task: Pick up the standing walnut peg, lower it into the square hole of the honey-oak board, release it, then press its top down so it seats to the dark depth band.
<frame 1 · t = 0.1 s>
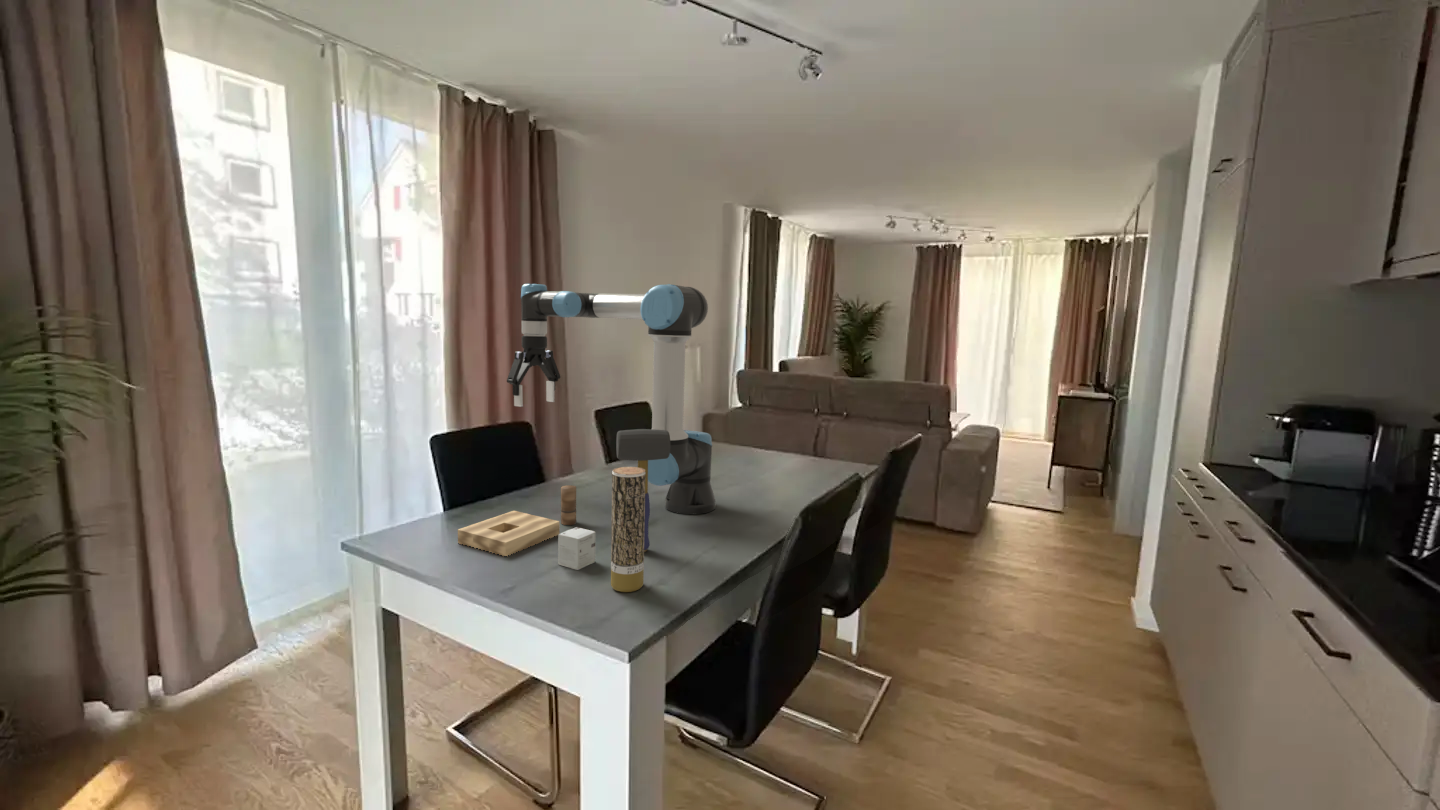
hand: (534, 403, 194), 28 cm above the table, tool pointing down, fingers open, 13 cm apart
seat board: (510, 538, 156), on the table
skincare box: (576, 564, 142), on the table
peg: (568, 523, 169), on the table
rubber mallet: (641, 551, 151), on the table
paper tube: (627, 587, 131), on the table
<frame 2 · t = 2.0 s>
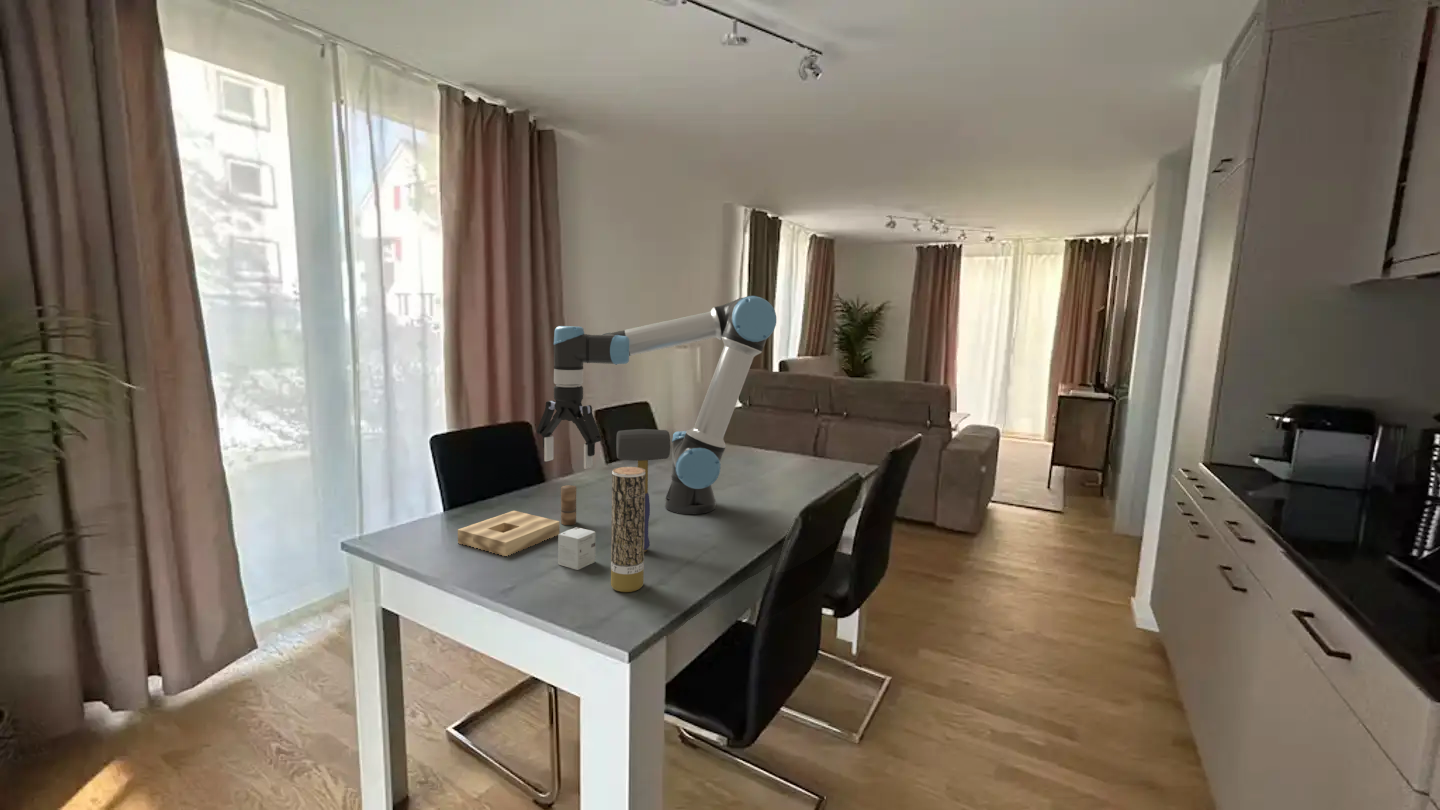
hand: (568, 464, 167), 16 cm above the table, tool pointing down, fingers open, 13 cm apart
nothing on the table moved.
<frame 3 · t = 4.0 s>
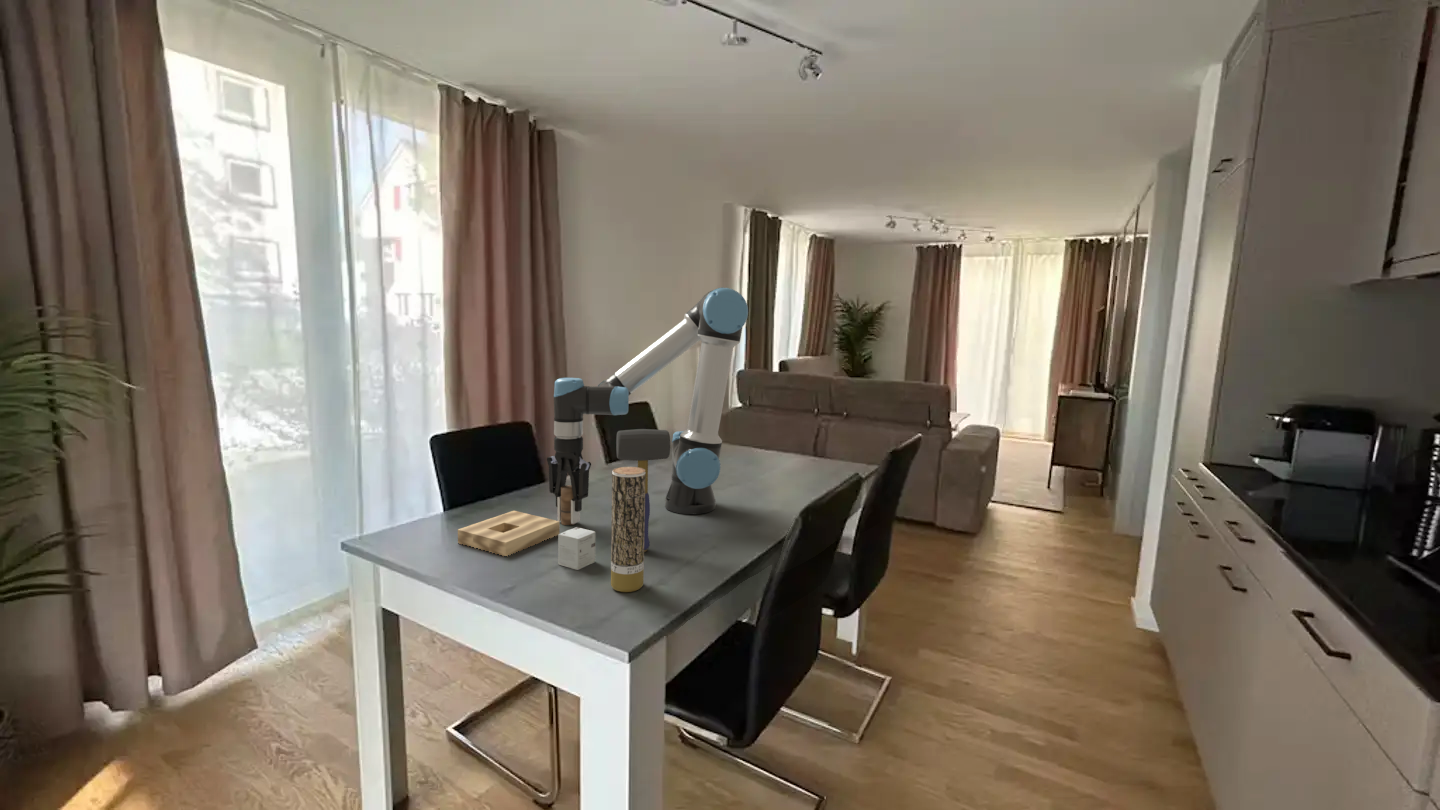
hand: (568, 520, 169), 1 cm above the table, tool pointing down, fingers closed on peg, 4 cm apart
peg: (568, 523, 169), on the table, touching gripper
everything else where it was.
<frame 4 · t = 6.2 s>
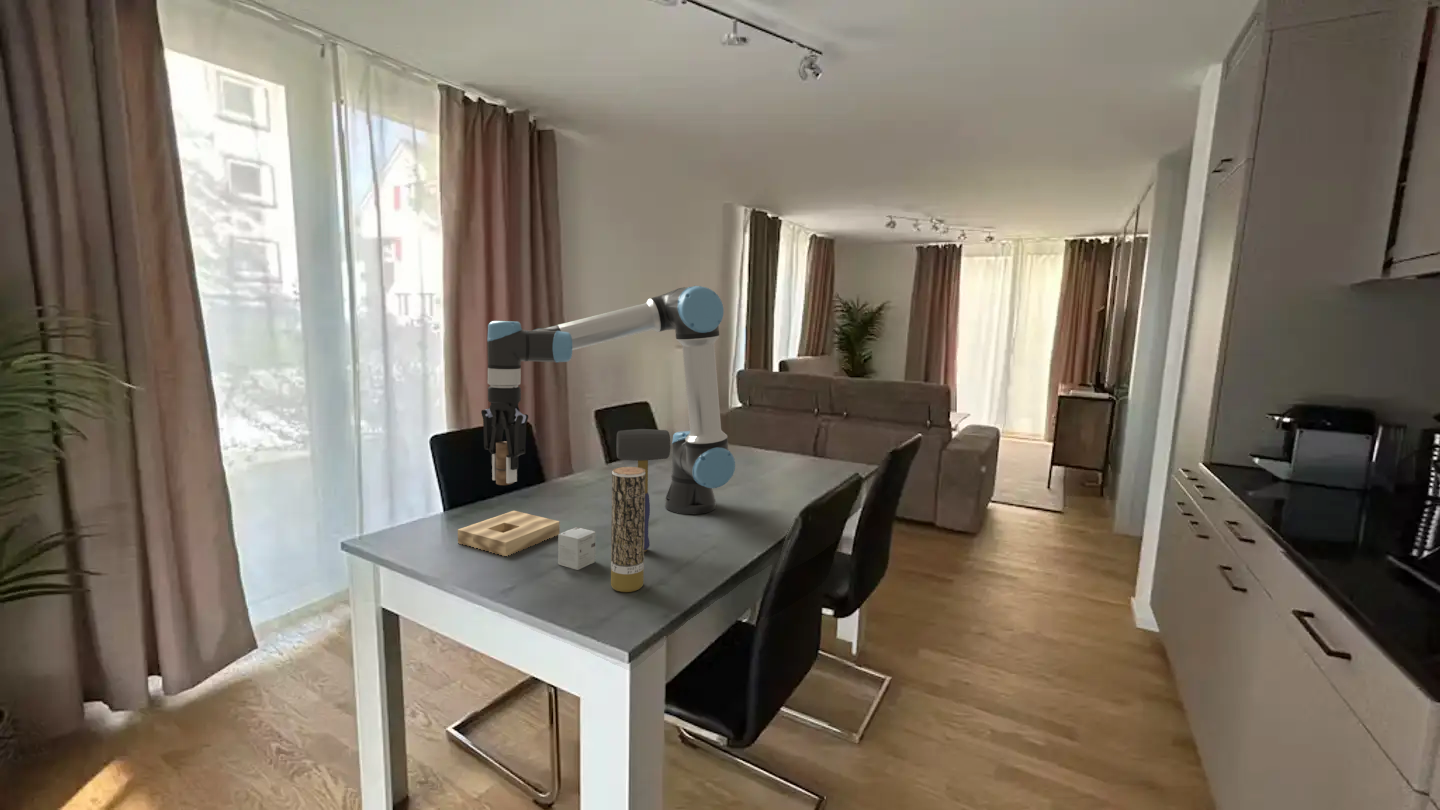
hand: (504, 480, 153), 15 cm above the table, tool pointing down, fingers closed on peg, 4 cm apart
peg: (504, 482, 153), point 15 cm above the table, touching gripper
everything else where it was.
when the fingers open (4 cm above the table, at t = 8.5 s): peg drops 4 cm, resting in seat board.
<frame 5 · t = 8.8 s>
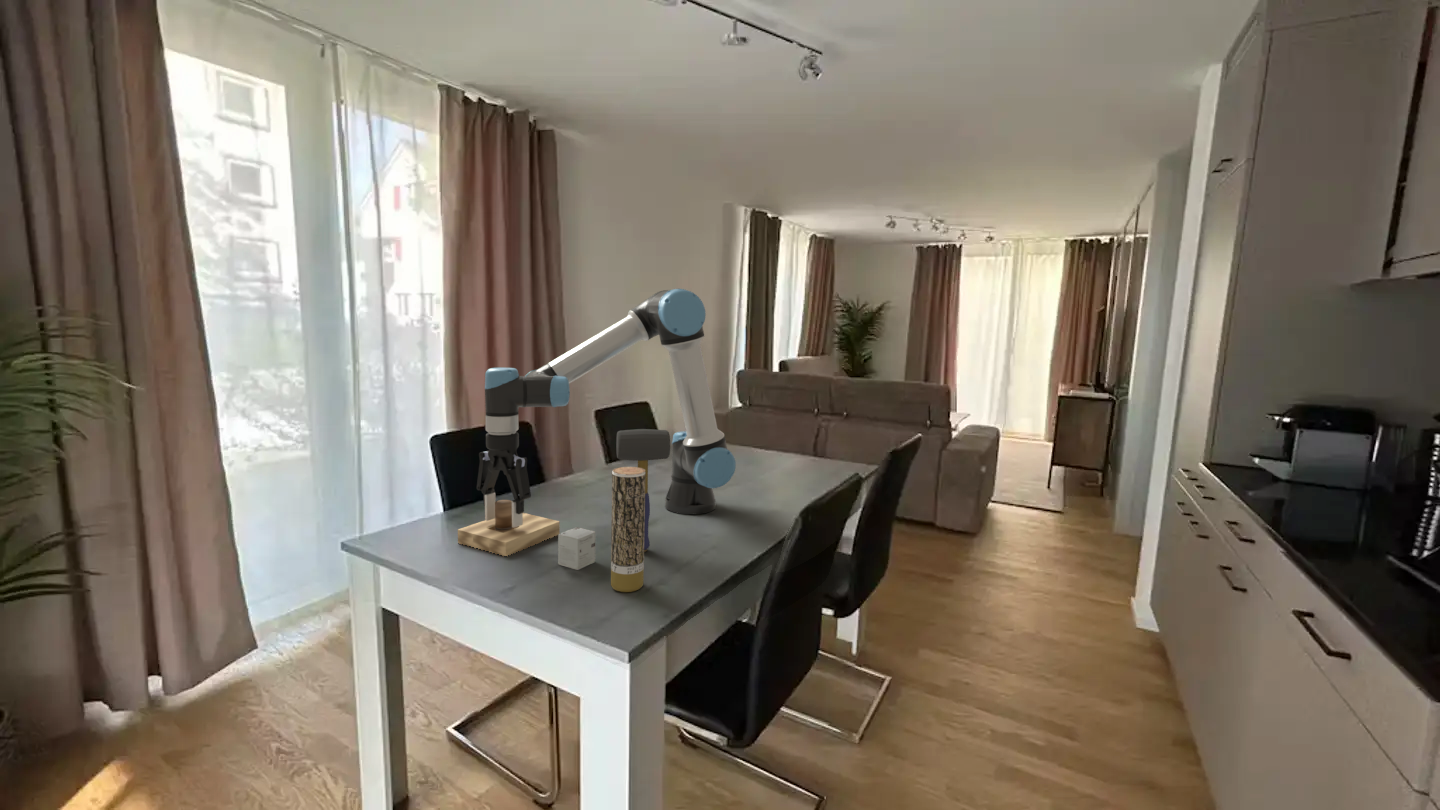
hand: (503, 522, 153), 5 cm above the table, tool pointing down, fingers open, 8 cm apart
peg: (504, 541, 154), resting in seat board
everything else where it was.
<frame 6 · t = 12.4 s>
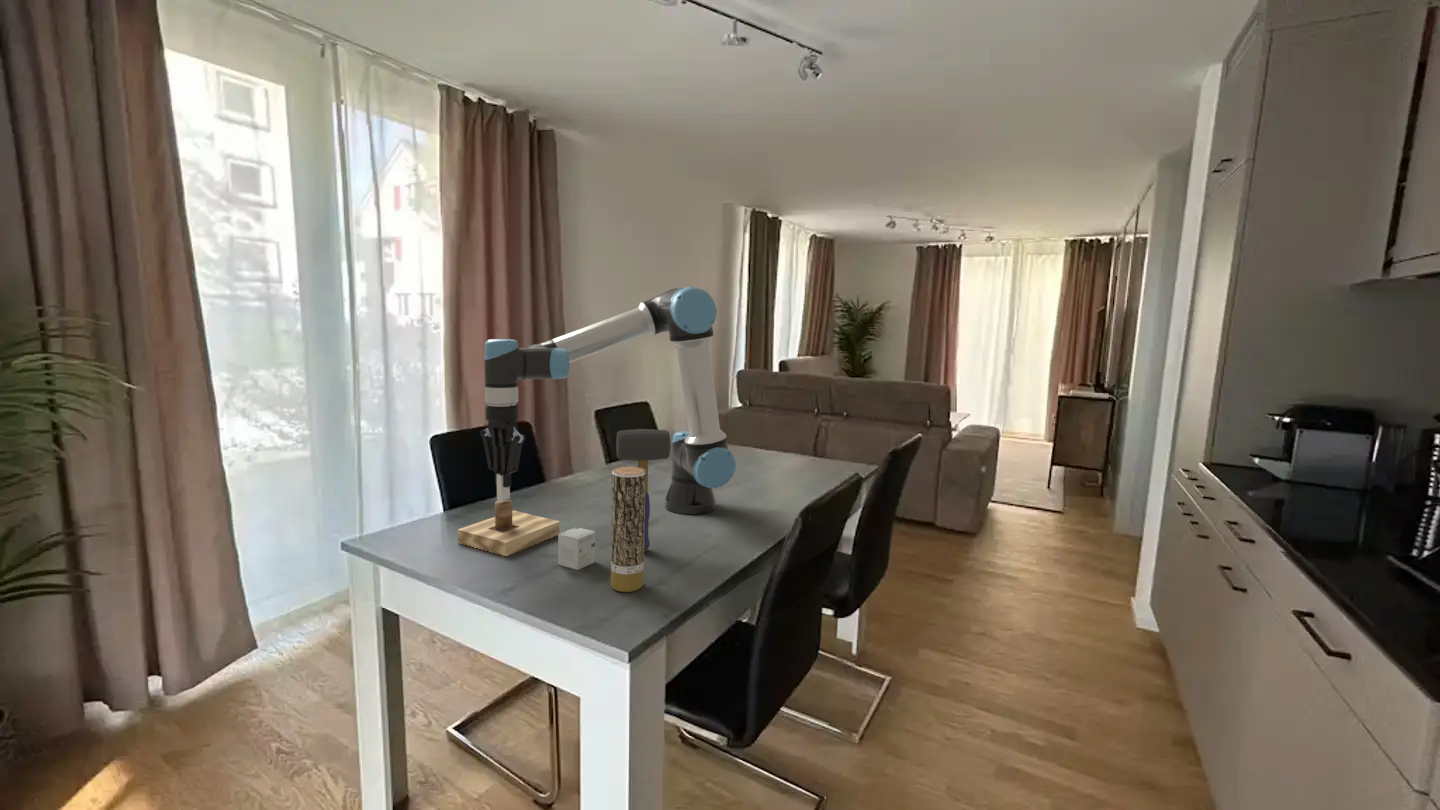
hand: (503, 499, 153), 11 cm above the table, tool pointing down, fingers closed
nothing on the table moved.
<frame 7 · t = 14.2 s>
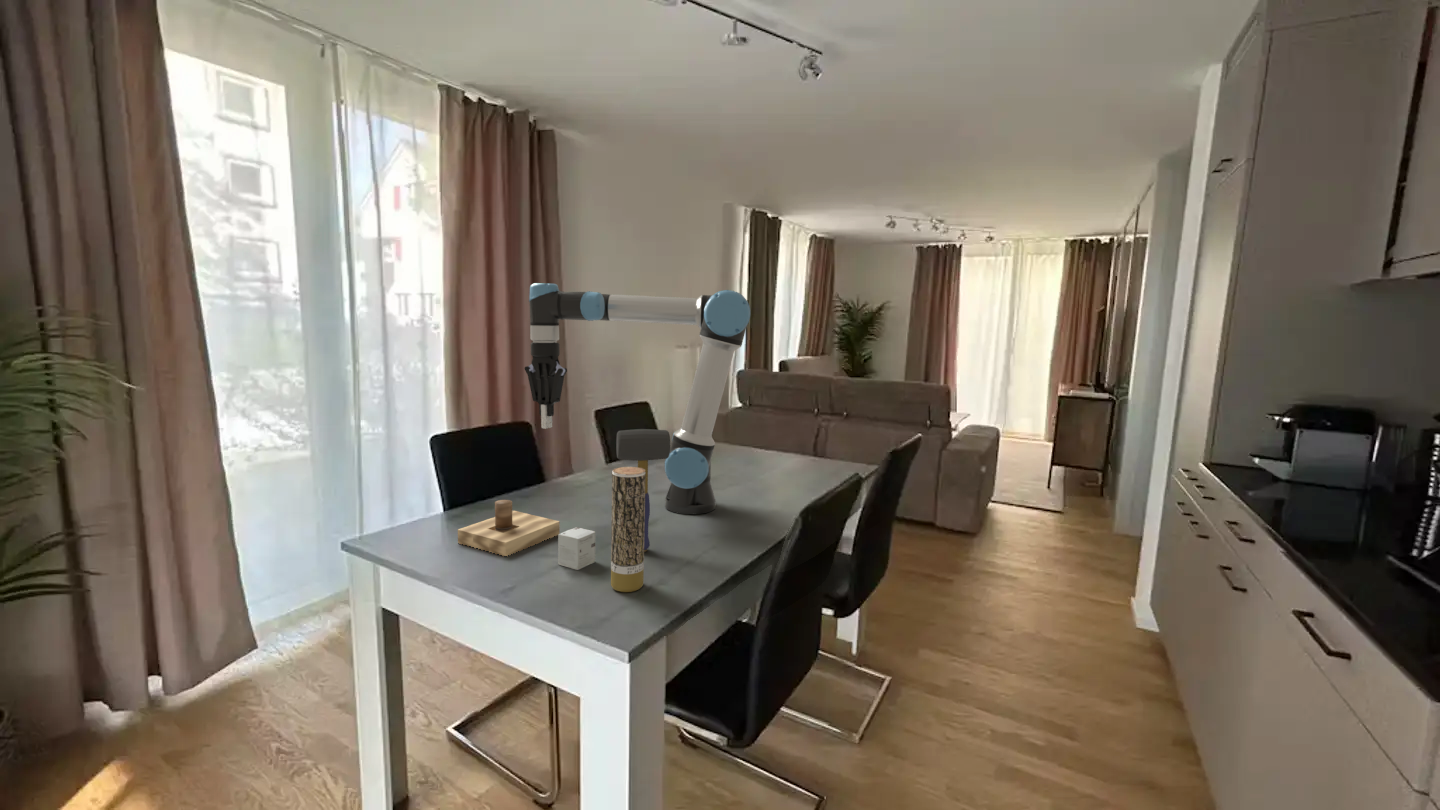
hand: (546, 427, 171), 25 cm above the table, tool pointing down, fingers closed
nothing on the table moved.
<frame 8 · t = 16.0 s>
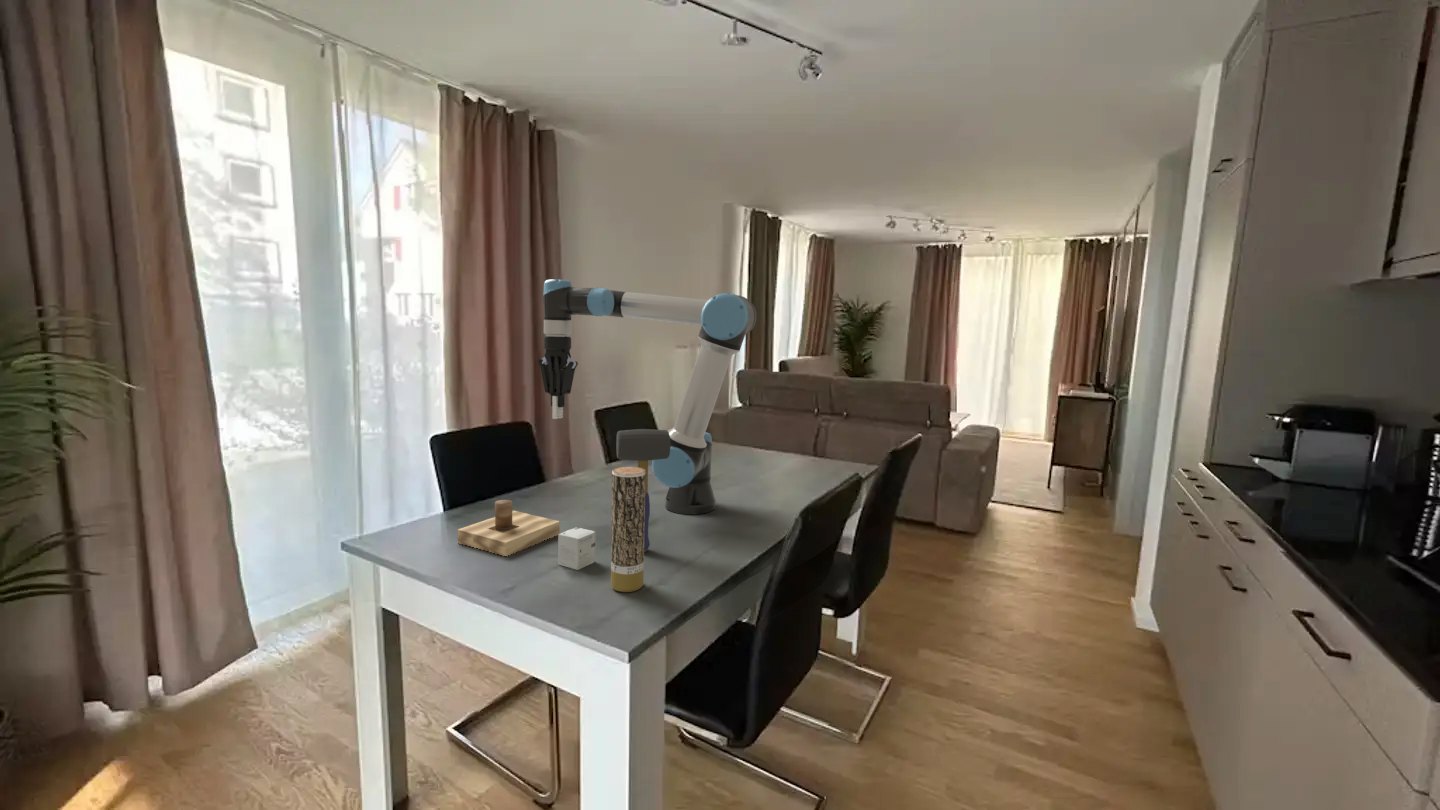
hand: (557, 418, 179), 26 cm above the table, tool pointing down, fingers closed
nothing on the table moved.
at the end: peg 0.0 cm from the target spot on the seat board, point 0.0 cm above the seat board's base; peg tilted 0°; the gripper is holding nothing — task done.
